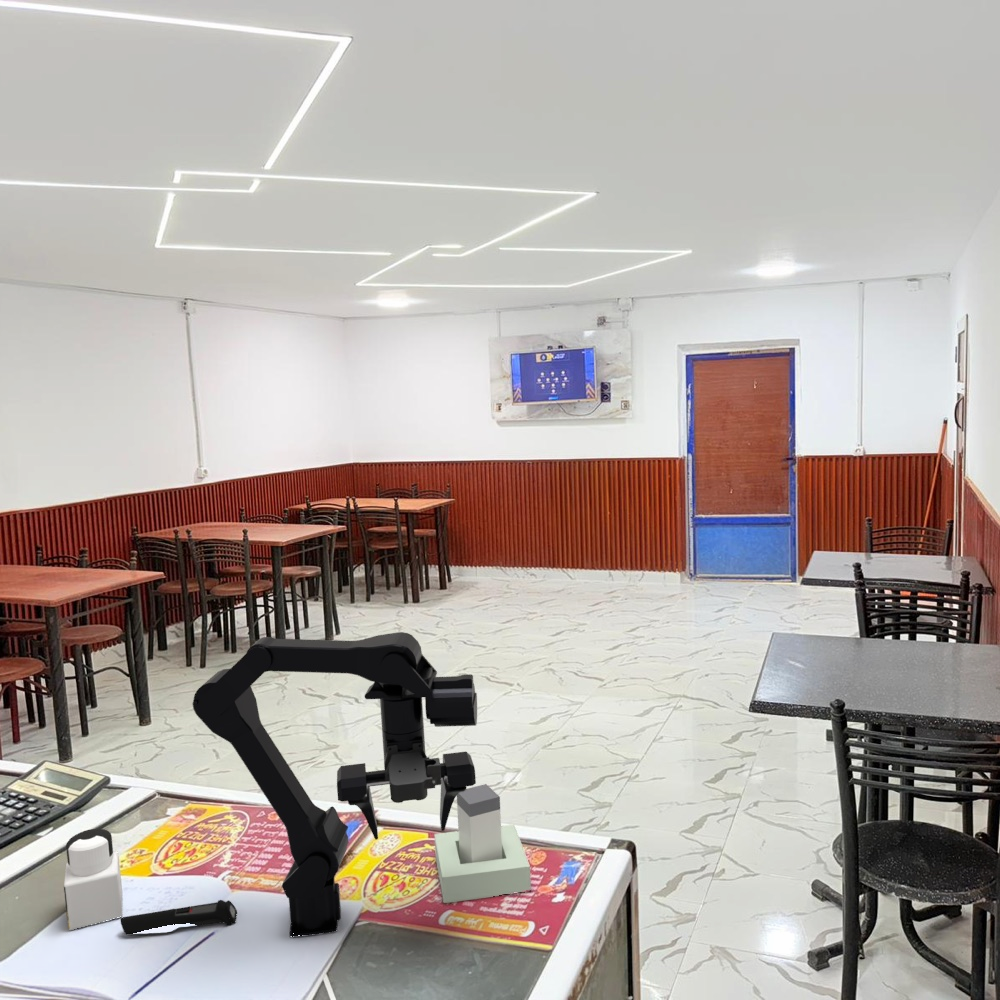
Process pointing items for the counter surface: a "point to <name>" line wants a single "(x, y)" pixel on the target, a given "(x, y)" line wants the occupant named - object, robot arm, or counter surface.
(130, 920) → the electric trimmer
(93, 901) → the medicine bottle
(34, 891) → the counter surface
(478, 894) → the sage block
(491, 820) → the white plug block
